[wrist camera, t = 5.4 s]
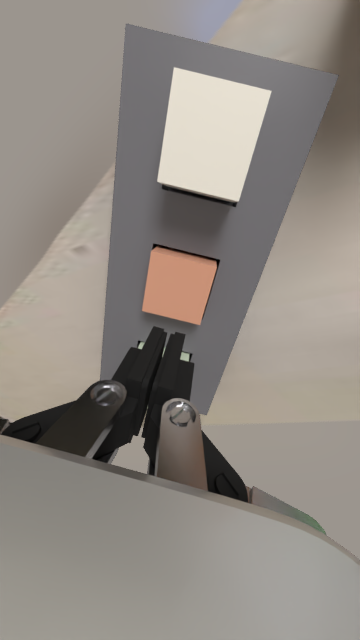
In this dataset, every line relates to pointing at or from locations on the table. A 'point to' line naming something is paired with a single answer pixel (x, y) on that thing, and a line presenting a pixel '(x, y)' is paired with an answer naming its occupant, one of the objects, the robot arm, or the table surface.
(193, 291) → the terracotta key
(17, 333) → the table surface
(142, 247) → the key console
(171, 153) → the cream key
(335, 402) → the table surface
